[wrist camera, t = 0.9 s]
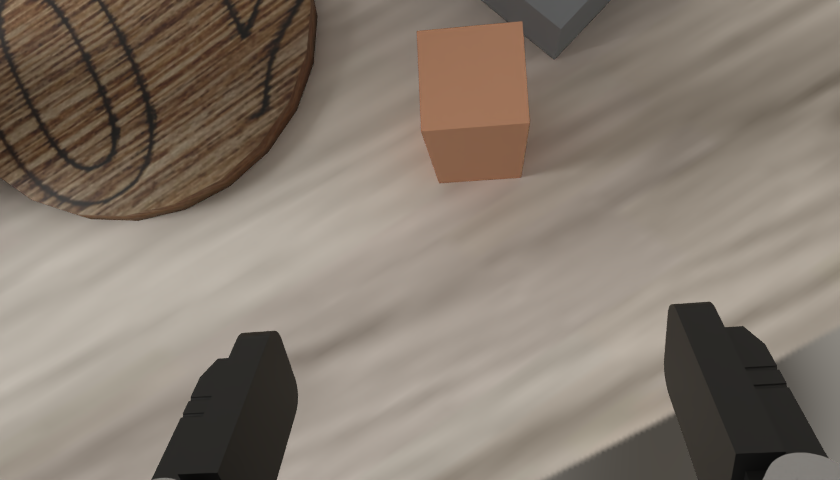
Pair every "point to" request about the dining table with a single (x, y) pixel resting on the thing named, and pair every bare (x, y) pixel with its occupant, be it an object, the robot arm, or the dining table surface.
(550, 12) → the charcoal plinth
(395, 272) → the dining table surface
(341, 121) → the dining table surface
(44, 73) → the trivet
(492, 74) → the terracotta block
